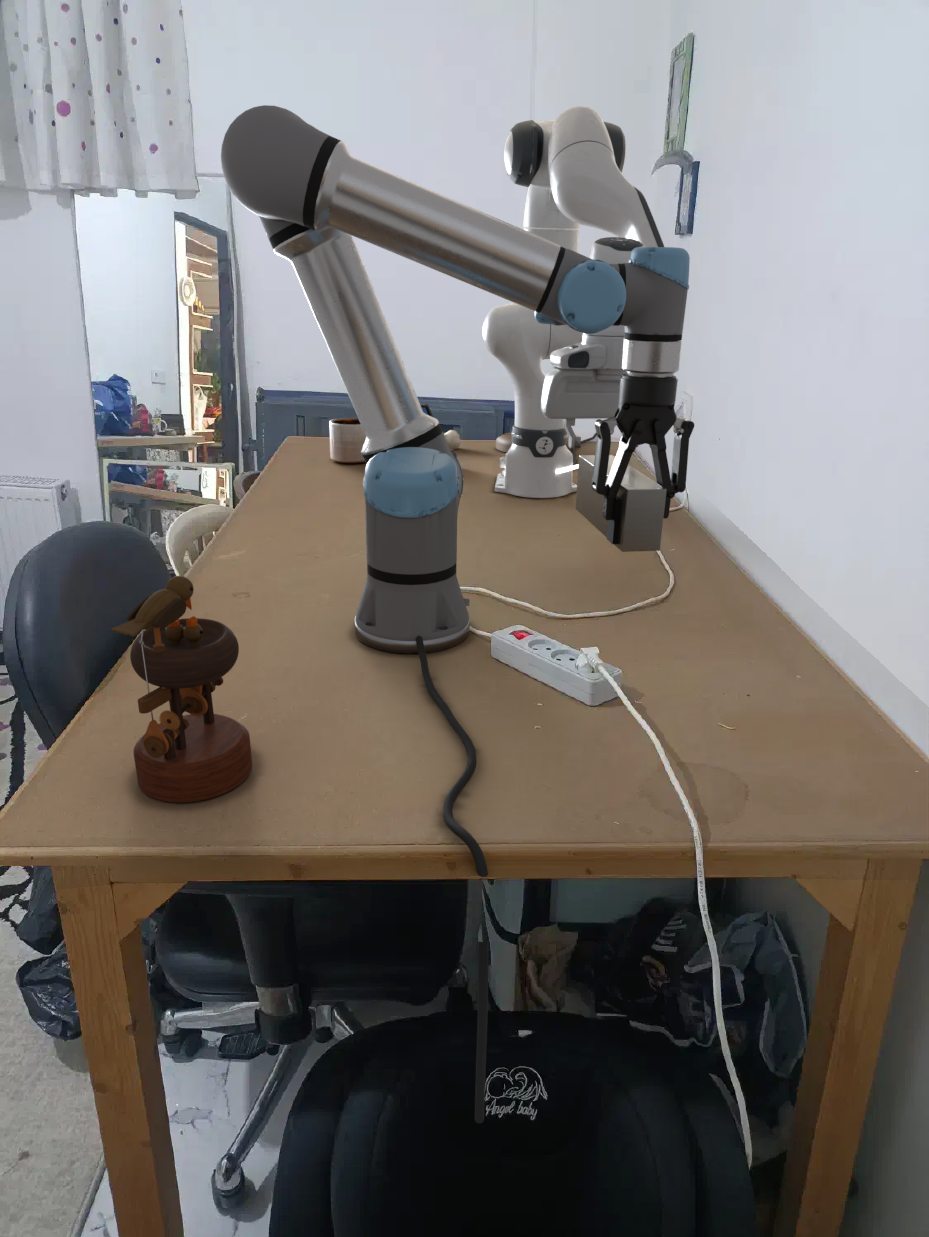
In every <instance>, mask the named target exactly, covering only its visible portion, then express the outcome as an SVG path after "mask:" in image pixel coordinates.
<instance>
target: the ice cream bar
mask: <svg viewBox="0 0 929 1237" xmlns="http://www.w3.org/2000/svg"><path fill="white" fill-rule="evenodd" d="M511 433H512V431H510V432H506V433H502V434H500V435H498V437H496V440H495V449H497V450H498V451H501V452H503V453H508V450H509V449H510V447H511V445H512V441H511V438H512V435H511ZM568 442H569V435H568V437H567V444H566V447H567V449H568V450H569V451H570V452H571V453H572V449H573V448H570V447H569V445H568Z"/></svg>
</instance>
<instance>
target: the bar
mask: <svg viewBox="0 0 929 1237" xmlns="http://www.w3.org/2000/svg"><path fill="white" fill-rule="evenodd" d="M615 456H616V455H613V454H609V462H608V469H607V477H606V481H607V478H608V476H609V473H610V470H611V467H612V465H613V462H614V459H615ZM594 460H595V454H589V455H588V454H585V455H584V454H581V455H580V454H579V455H578V465H579V466H578V468H577V483H576V485H577V491H576V498H575V510H576V511H577V512H578V513H579V514H580V515H581V516H583V517H584V519H586V520H587V521H588V522H589V523H590V524H591V525H592V526H594V527H595V528H596V529H597V530H598V531H599V532H600V533H601V534H602V535H603V536H604V537H605V538H607V528H608V520H606V519H605V518H604V517H603V502H604V496H603V495H601V494H598V493H597V492H595V491H594V490H593V489H592V488H591V485H592V476H593V468H594ZM666 490H667V489H666V488H664V487H663V486H661V485H659V484H658V483H657V481H655V480H653V479H652V478H651V477H649V476H647V475H645V474H643V473H642V472H640V471H639V470H637V469H635V468H634V467H632V466H631V465H629V464H628V466H627V469H626V472H625V475H624V477H623V480H622V483H621V485H620V488H619V491H618V493H617V496H618V497H619V498H621V499H622V501H621V512H620V523H619V534H618V544H613V545H614V546H615V547H616V548H617V549H618V550H619V551H620V552H622V553H627V552H628V553H631V552H657V551H658V552H659V551H661V543H662V536H663V535H662V533H663V525H664V519H663V518H664V508H665V499H666Z"/></svg>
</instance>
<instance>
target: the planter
mask: <svg viewBox="0 0 929 1237" xmlns="http://www.w3.org/2000/svg"><path fill="white" fill-rule="evenodd" d="M328 424H329V425H328V426H329V453H330V454H329V455H330V456H329V457H330V459H331V460H332V461H333V462H335V463H341V464H363V463H366V462H365V460H364V458H363V455H362V453H361V450H362V448H363V445H364V443H365V440H366V435H365V432H364V430H363V428H362V425H361V423H360V421H359V418H358V417H342V418H341V417H340V418H335V419H334V418H333V419H331V420H329V421H328Z"/></svg>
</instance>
